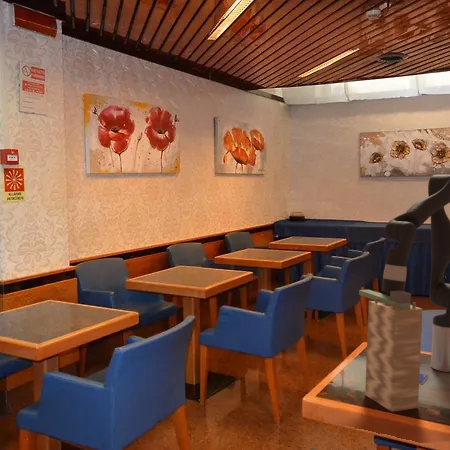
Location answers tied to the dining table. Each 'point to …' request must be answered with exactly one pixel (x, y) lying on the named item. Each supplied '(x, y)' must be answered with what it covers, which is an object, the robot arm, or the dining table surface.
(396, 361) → the stand
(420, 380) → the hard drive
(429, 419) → the dining table surface
